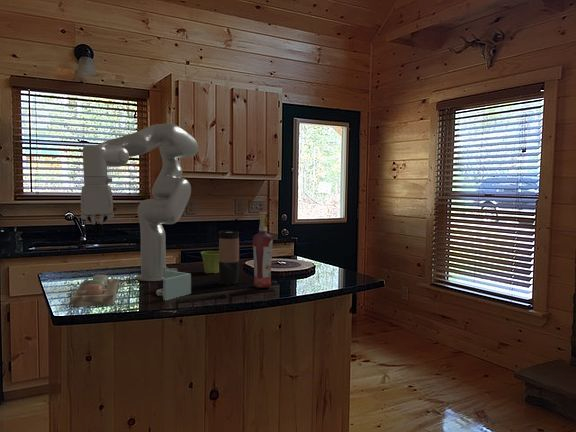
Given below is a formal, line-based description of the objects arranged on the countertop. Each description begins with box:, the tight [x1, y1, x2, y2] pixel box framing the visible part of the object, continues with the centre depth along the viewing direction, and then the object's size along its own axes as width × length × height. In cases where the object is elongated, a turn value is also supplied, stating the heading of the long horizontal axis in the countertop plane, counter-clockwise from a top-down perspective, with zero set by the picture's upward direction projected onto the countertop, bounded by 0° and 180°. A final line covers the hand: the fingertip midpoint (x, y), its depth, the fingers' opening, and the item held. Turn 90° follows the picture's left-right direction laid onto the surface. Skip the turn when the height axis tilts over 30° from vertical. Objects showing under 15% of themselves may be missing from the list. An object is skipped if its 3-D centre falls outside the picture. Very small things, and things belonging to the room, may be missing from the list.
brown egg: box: [86, 284, 103, 295], centre depth 157 cm, size 5×5×5 cm
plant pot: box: [200, 250, 219, 274], centre depth 208 cm, size 9×9×9 cm
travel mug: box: [218, 229, 240, 286], centre depth 187 cm, size 8×8×20 cm
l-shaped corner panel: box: [155, 270, 192, 301], centre depth 168 cm, size 12×12×8 cm
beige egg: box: [92, 274, 108, 284], centre depth 172 cm, size 5×5×5 cm
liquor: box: [252, 211, 274, 289], centre depth 180 cm, size 7×7×28 cm
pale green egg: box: [89, 278, 105, 289], centre depth 165 cm, size 5×5×5 cm
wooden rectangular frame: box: [71, 278, 120, 308], centre depth 165 cm, size 12×26×3 cm, turn 15°
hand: (98, 235), depth 168 cm, fingers closed
